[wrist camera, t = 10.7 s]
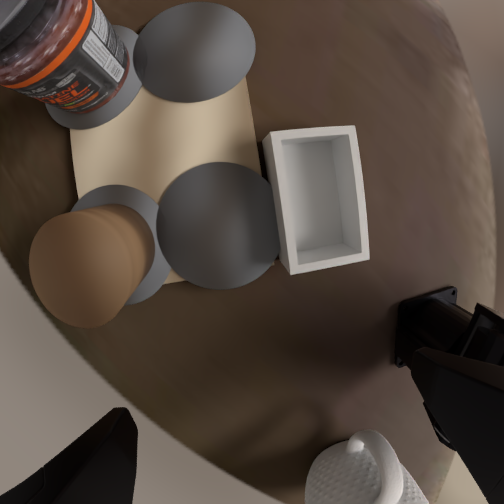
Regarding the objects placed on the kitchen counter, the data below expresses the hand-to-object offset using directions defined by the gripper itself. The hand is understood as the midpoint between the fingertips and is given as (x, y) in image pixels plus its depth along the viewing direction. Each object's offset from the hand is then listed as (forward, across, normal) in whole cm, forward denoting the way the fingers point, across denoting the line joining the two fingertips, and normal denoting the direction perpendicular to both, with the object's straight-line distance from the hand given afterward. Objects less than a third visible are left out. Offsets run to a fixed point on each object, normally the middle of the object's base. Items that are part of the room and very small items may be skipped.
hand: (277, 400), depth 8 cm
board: (+13, +4, -9) cm, 16 cm away
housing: (+13, -5, -4) cm, 15 cm away
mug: (+13, -7, +22) cm, 27 cm away
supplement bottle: (+12, +8, -15) cm, 21 cm away
